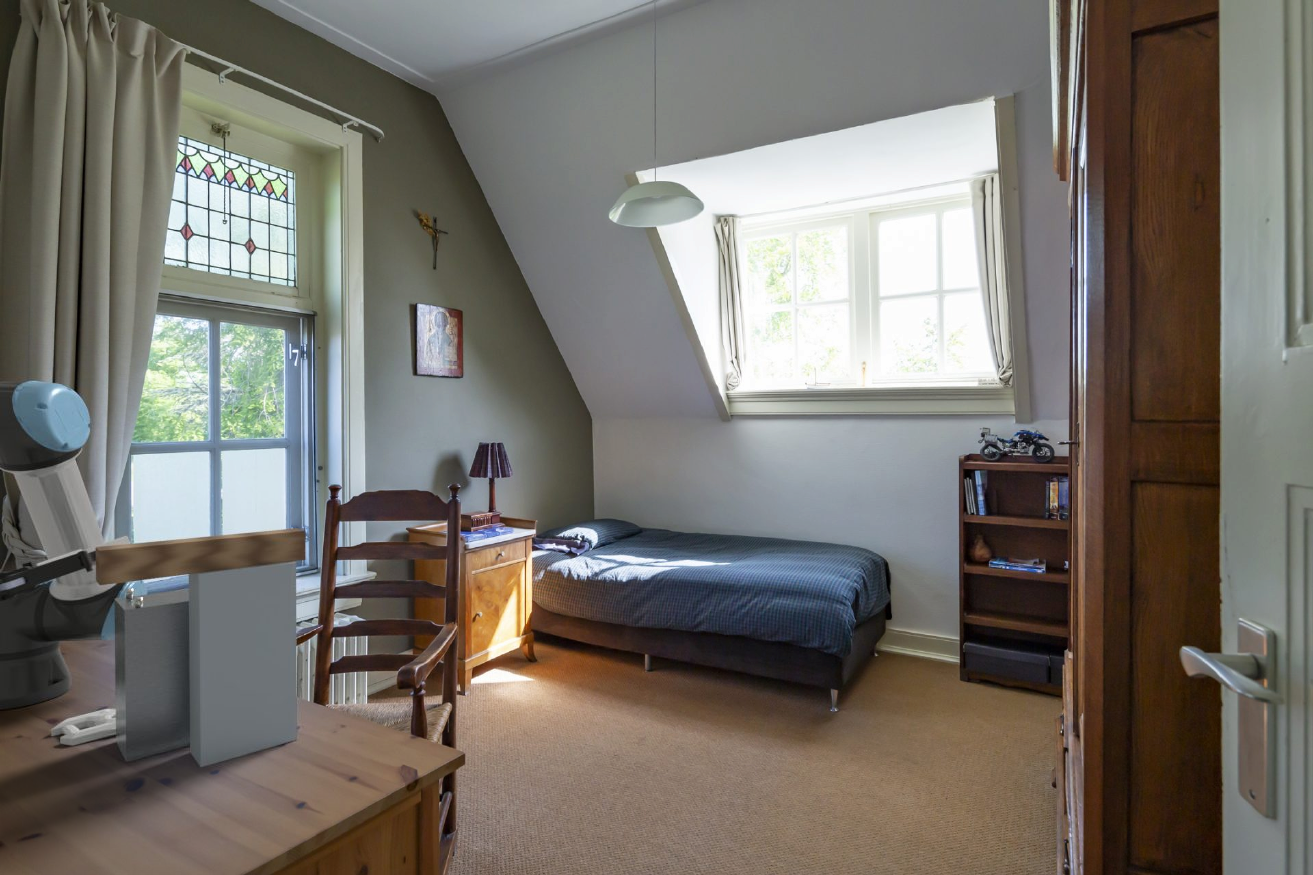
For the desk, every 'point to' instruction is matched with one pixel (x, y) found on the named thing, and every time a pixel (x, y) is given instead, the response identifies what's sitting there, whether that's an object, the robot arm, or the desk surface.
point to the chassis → (152, 673)
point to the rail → (197, 555)
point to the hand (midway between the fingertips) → (106, 550)
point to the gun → (87, 727)
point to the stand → (242, 661)
